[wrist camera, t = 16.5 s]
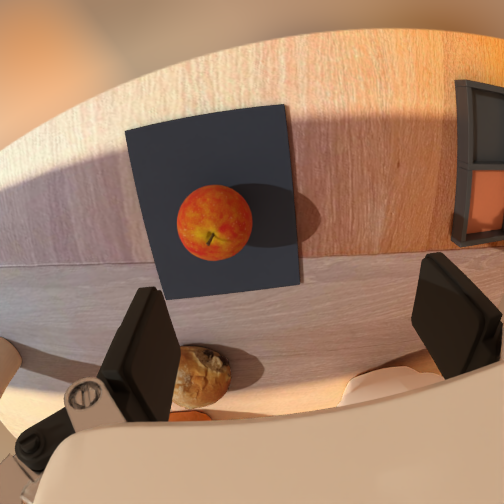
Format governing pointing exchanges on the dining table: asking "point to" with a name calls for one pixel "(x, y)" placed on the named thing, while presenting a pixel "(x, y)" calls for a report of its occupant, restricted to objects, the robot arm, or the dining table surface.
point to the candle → (8, 363)
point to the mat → (227, 174)
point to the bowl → (385, 384)
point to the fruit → (214, 222)
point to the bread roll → (200, 377)
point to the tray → (479, 164)
